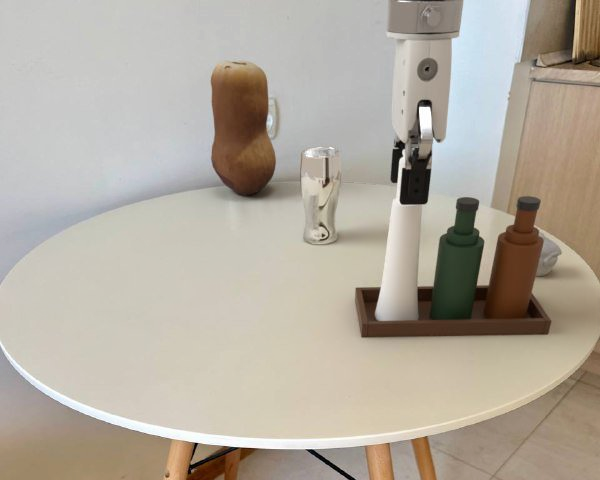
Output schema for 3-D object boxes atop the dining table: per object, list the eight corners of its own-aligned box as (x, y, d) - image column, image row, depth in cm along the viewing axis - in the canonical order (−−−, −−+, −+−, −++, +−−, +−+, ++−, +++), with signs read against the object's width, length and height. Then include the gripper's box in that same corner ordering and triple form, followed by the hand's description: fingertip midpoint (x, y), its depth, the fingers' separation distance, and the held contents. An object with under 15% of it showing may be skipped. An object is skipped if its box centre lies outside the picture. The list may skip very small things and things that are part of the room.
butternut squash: (289, 190, 130) (285, 59, 115) (247, 206, 121) (238, 68, 106) (243, 178, 137) (234, 54, 122) (201, 193, 129) (185, 62, 114)
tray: (522, 301, 87) (526, 284, 85) (546, 339, 78) (552, 320, 76) (354, 304, 87) (355, 287, 85) (361, 342, 78) (362, 323, 77)
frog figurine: (508, 265, 97) (517, 224, 92) (554, 270, 95) (565, 227, 91) (508, 281, 92) (518, 238, 88) (556, 286, 90) (568, 242, 86)
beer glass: (322, 248, 103) (322, 159, 94) (293, 239, 107) (291, 152, 98) (347, 237, 107) (350, 150, 98) (318, 228, 111) (318, 143, 102)
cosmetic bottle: (383, 303, 85) (396, 141, 72) (423, 311, 83) (444, 146, 70) (368, 322, 81) (378, 153, 68) (410, 331, 79) (430, 159, 66)
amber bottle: (518, 305, 84) (544, 191, 75) (530, 324, 80) (560, 206, 70) (479, 305, 84) (500, 192, 75) (489, 325, 80) (513, 207, 70)
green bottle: (465, 306, 84) (485, 192, 75) (475, 325, 80) (497, 207, 70) (426, 306, 84) (440, 193, 75) (433, 326, 80) (450, 208, 70)
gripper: (481, 27, 54) (454, 217, 65) (443, 12, 68) (426, 171, 79) (399, 29, 54) (385, 218, 65) (378, 14, 68) (369, 172, 79)
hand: (408, 191), depth 72 cm, fingers open, 7 cm apart
